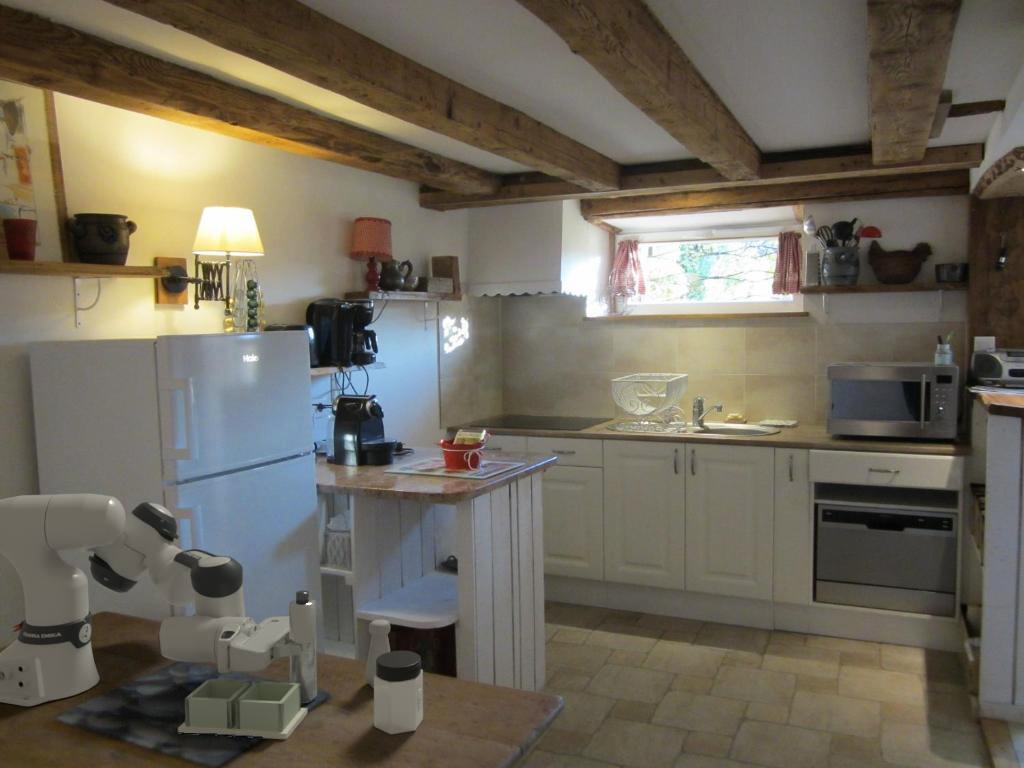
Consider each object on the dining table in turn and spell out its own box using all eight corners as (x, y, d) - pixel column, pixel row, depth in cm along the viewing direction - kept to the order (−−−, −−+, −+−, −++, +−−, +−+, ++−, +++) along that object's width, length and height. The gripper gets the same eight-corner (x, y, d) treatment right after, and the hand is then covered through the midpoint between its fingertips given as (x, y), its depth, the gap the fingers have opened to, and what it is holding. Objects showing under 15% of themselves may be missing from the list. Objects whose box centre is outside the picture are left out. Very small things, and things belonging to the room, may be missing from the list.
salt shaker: (388, 691, 160) (387, 627, 159) (361, 689, 161) (360, 625, 160) (398, 679, 165) (397, 617, 165) (371, 677, 167) (371, 615, 166)
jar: (413, 737, 141) (412, 670, 141) (368, 733, 143) (368, 666, 142) (427, 714, 150) (427, 651, 149) (386, 710, 151) (385, 648, 151)
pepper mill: (286, 703, 154) (284, 595, 153) (296, 692, 159) (294, 588, 158) (311, 704, 154) (310, 596, 153) (320, 693, 159) (319, 588, 158)
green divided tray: (178, 733, 143) (177, 700, 142) (205, 708, 152) (205, 677, 152) (286, 739, 140) (286, 705, 140) (307, 713, 150) (307, 681, 150)
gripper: (261, 637, 168) (325, 639, 166) (214, 677, 148) (287, 680, 146) (261, 607, 168) (325, 609, 166) (214, 643, 147) (286, 646, 146)
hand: (307, 643), depth 156 cm, fingers closed on pepper mill, 5 cm apart
